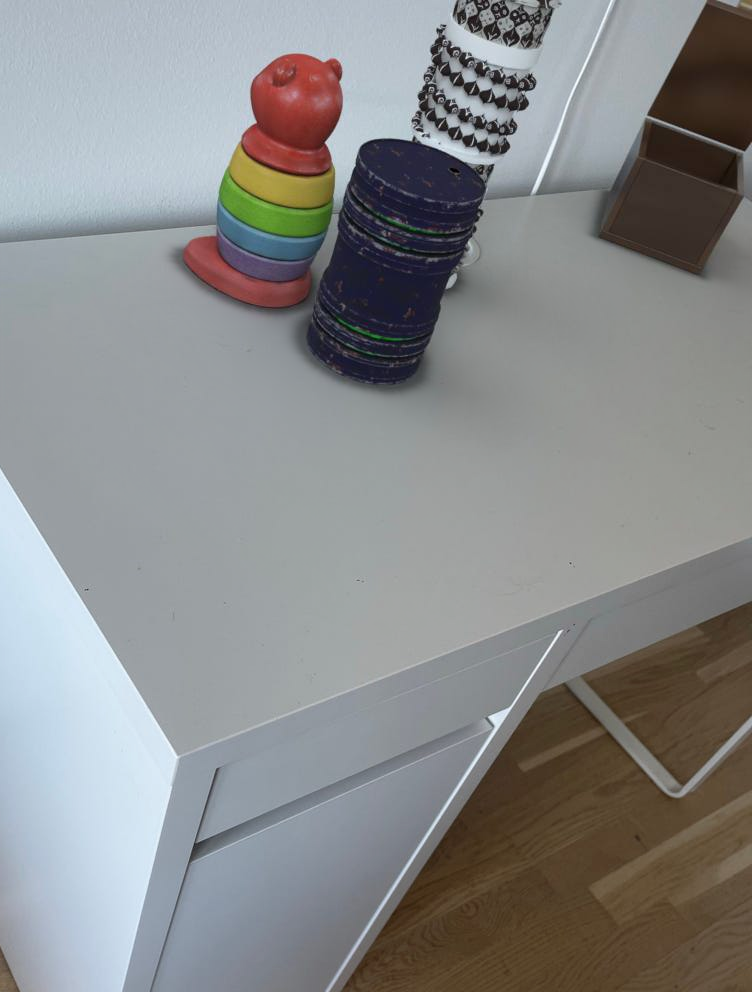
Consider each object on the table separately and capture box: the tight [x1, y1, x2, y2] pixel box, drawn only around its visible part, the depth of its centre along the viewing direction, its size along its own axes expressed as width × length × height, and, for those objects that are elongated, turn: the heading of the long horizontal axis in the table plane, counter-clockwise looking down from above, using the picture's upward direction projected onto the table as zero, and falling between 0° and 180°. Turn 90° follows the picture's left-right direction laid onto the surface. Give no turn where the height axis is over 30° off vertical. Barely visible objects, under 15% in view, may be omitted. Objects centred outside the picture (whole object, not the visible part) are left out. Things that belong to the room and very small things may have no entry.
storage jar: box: [305, 137, 487, 386], centre depth 76 cm, size 10×10×15 cm
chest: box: [598, 117, 745, 275], centre depth 110 cm, size 14×12×9 cm
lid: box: [646, 0, 752, 153], centre depth 104 cm, size 14×12×5 cm
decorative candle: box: [410, 0, 563, 290], centre depth 85 cm, size 9×9×25 cm
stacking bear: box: [182, 53, 344, 308], centre depth 79 cm, size 11×10×18 cm
